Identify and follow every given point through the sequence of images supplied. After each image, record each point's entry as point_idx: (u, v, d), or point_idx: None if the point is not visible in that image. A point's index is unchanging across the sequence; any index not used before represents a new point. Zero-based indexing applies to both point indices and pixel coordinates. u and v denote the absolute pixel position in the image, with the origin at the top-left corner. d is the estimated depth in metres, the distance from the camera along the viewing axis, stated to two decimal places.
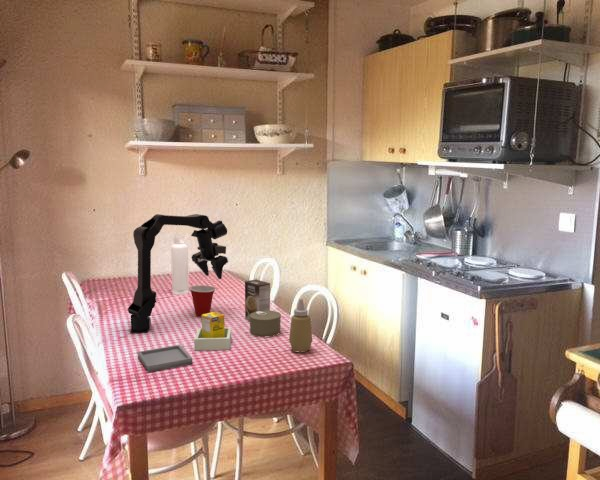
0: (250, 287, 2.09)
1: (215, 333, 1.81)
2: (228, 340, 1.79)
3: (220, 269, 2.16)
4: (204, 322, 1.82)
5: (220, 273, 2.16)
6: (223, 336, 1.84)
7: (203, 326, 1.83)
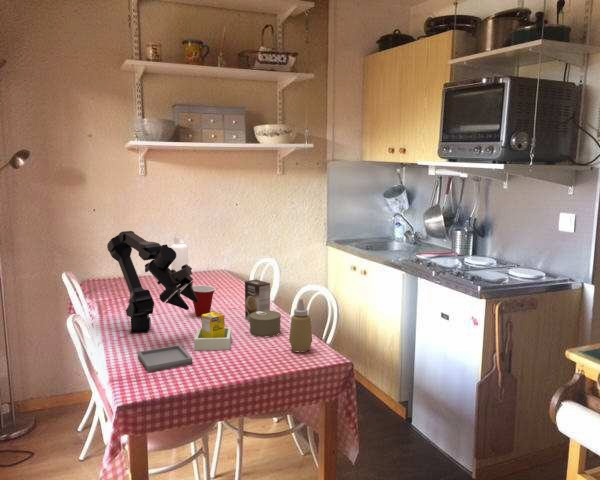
0: (250, 287, 2.09)
1: (215, 333, 1.81)
2: (228, 340, 1.79)
3: (179, 300, 1.79)
4: (204, 322, 1.82)
5: (182, 304, 1.80)
6: (223, 336, 1.84)
7: (203, 326, 1.83)
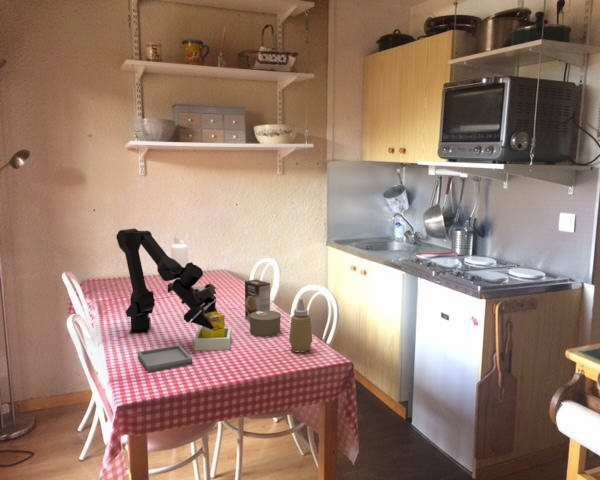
0: (250, 287, 2.09)
1: (215, 333, 1.81)
2: (228, 340, 1.79)
3: (203, 319, 1.78)
4: None
5: (206, 323, 1.79)
6: (223, 336, 1.84)
7: (203, 326, 1.83)
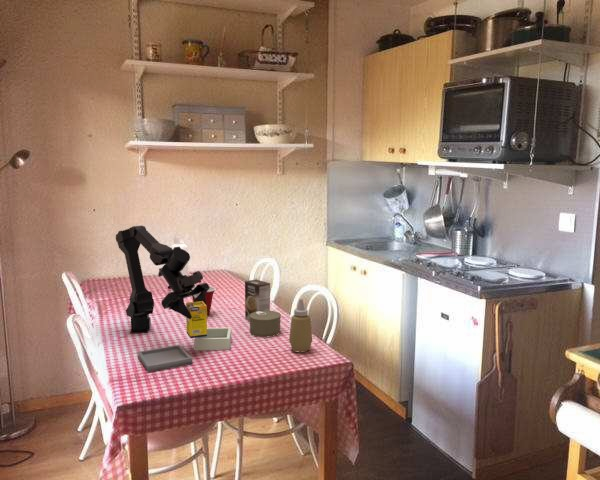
0: (250, 287, 2.09)
1: (195, 324, 1.73)
2: (228, 340, 1.79)
3: (181, 307, 1.71)
4: None
5: (184, 312, 1.71)
6: (205, 328, 1.75)
7: None
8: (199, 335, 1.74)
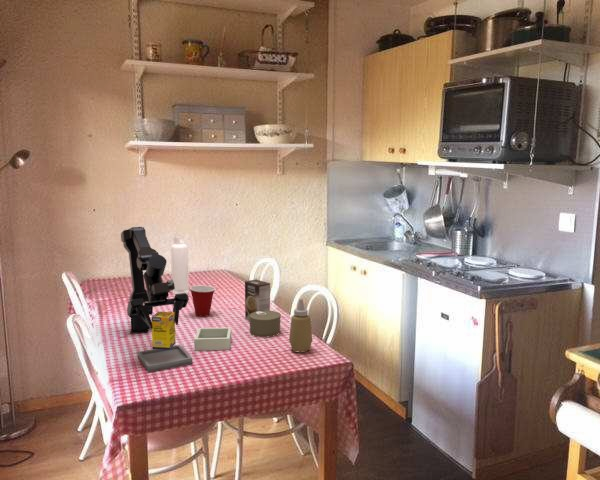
0: (250, 287, 2.09)
1: (157, 334, 1.65)
2: (228, 340, 1.79)
3: (145, 315, 1.66)
4: None
5: (147, 321, 1.65)
6: (167, 341, 1.65)
7: None
8: (161, 347, 1.66)
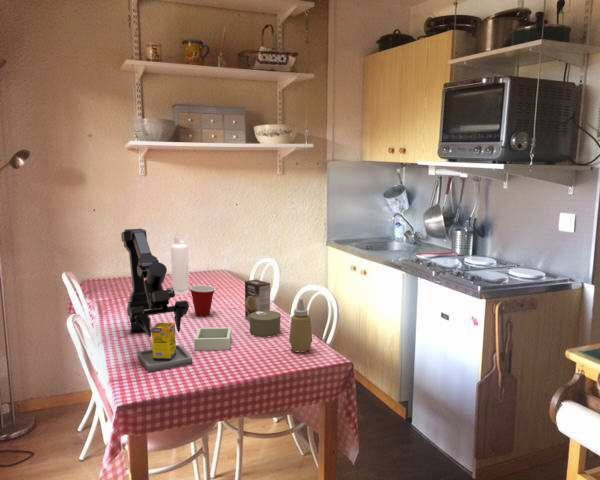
0: (250, 287, 2.09)
1: (157, 345, 1.66)
2: (228, 340, 1.79)
3: (144, 323, 1.66)
4: None
5: (145, 329, 1.65)
6: (168, 351, 1.66)
7: None
8: (162, 358, 1.66)
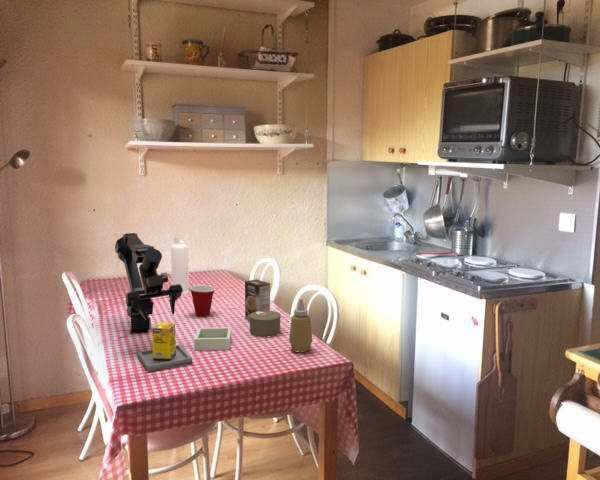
0: (250, 287, 2.09)
1: (157, 346, 1.66)
2: (228, 340, 1.79)
3: (139, 307, 1.74)
4: None
5: (141, 312, 1.74)
6: (168, 352, 1.66)
7: None
8: (162, 358, 1.66)
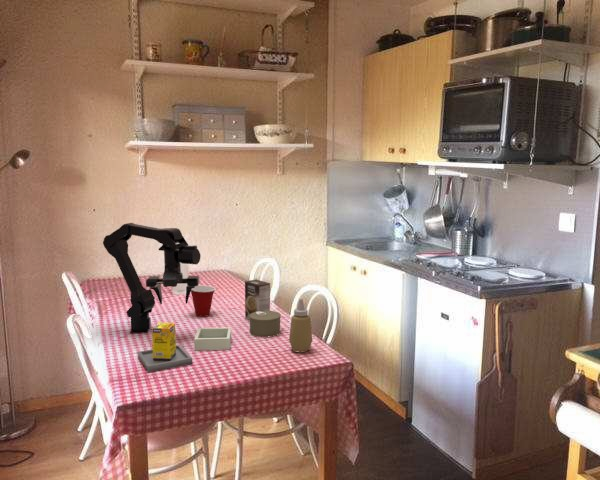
0: (250, 287, 2.09)
1: (157, 346, 1.66)
2: (228, 340, 1.79)
3: None
4: None
5: None
6: (168, 352, 1.66)
7: None
8: (162, 358, 1.66)
